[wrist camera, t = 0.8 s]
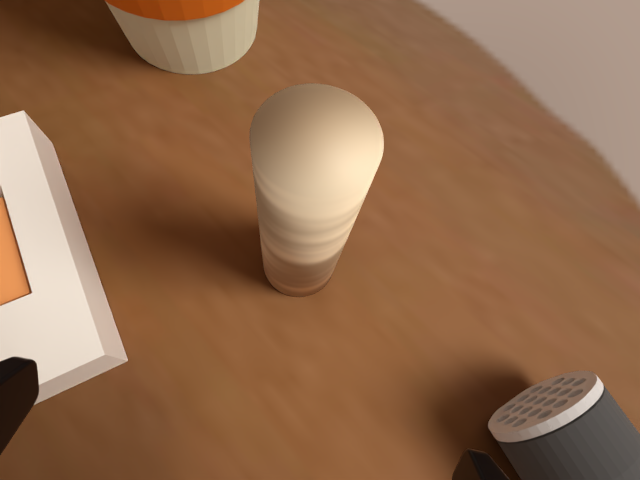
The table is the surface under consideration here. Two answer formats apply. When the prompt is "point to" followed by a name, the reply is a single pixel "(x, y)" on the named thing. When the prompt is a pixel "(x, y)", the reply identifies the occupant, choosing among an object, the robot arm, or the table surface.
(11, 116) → the frame
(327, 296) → the table surface
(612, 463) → the grey shaker
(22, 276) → the breaker button
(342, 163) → the cream ridged cylinder
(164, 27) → the reusable coffee cup
